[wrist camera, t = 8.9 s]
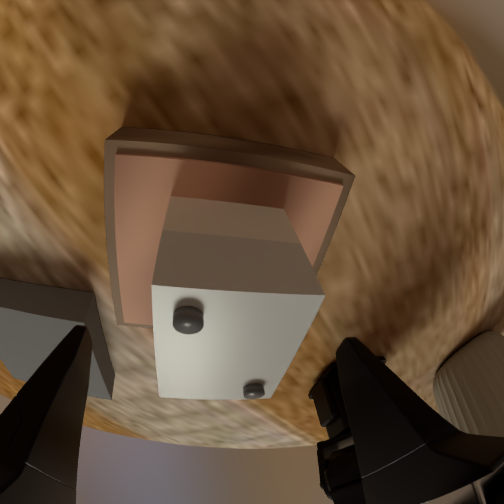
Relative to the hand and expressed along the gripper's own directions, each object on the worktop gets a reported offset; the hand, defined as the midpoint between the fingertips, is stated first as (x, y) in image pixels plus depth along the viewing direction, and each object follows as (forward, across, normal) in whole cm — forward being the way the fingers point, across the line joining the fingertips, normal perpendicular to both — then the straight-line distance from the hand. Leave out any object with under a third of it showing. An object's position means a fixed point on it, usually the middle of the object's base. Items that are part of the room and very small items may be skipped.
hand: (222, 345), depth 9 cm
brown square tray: (+7, 0, 0) cm, 7 cm away
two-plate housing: (+4, 0, 0) cm, 5 cm away
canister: (+7, -38, +16) cm, 42 cm away
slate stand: (+7, +12, +10) cm, 17 cm away
